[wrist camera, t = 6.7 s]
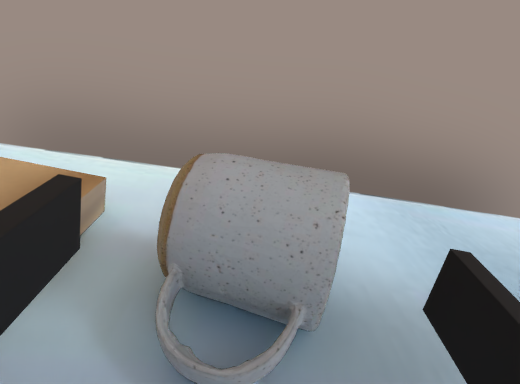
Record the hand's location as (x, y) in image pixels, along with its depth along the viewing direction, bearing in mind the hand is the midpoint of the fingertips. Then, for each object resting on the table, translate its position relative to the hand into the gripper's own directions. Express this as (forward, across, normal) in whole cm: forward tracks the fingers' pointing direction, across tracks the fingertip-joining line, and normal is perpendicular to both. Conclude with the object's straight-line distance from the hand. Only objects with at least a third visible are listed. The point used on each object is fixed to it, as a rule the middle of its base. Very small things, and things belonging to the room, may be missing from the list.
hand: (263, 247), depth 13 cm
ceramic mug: (+4, 0, -6) cm, 7 cm away
